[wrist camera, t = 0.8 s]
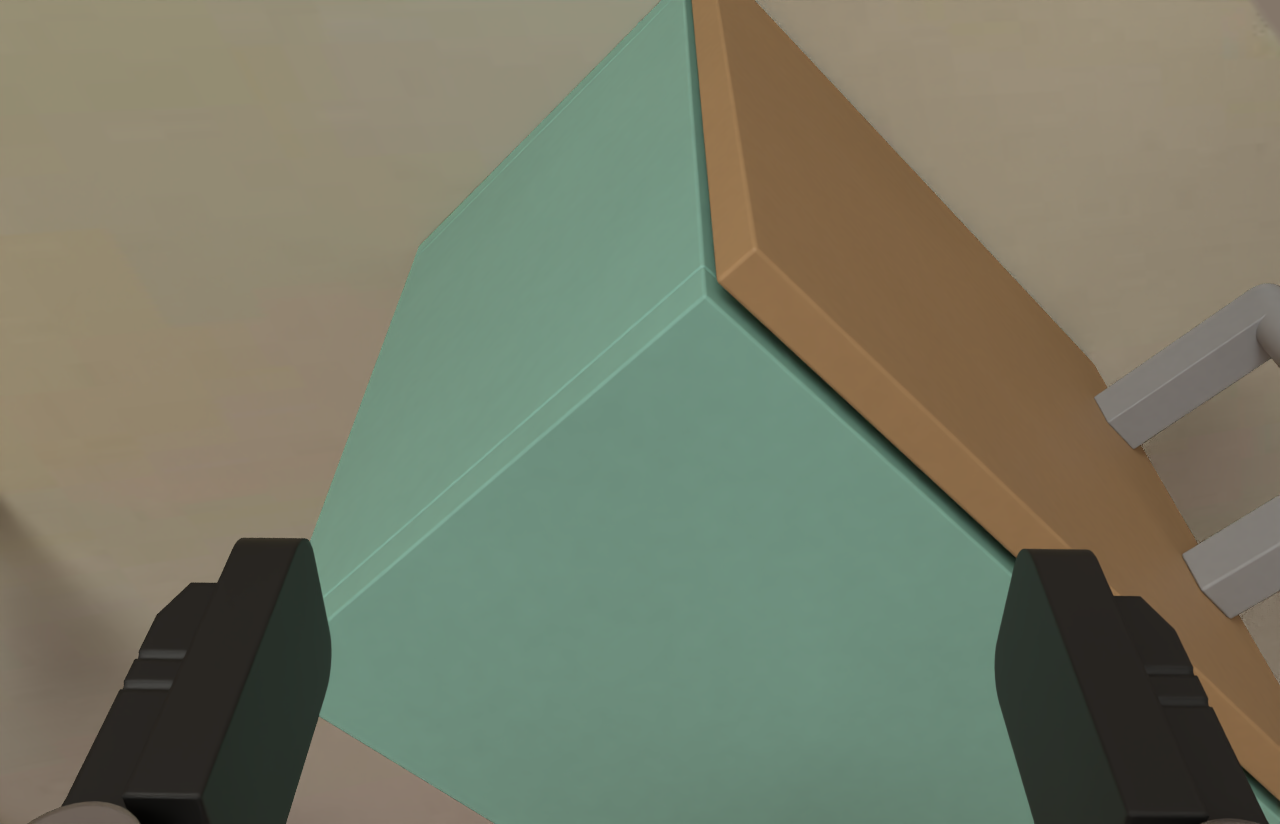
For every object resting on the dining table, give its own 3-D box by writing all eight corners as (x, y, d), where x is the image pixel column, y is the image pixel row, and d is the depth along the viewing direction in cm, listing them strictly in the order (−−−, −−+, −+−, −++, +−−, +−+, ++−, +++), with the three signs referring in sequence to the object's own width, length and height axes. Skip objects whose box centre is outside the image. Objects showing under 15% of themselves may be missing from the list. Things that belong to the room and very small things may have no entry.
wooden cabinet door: (870, -212, 37) (1080, -34, 19) (1248, 255, 46) (1644, 690, 27) (687, -26, 40) (714, 281, 22) (1073, 379, 49) (1324, 844, 31)
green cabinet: (682, -22, 41) (704, 294, 22) (1067, 380, 49) (1318, 853, 31) (417, 246, 46) (257, 680, 28) (804, 566, 55) (881, 1061, 36)
